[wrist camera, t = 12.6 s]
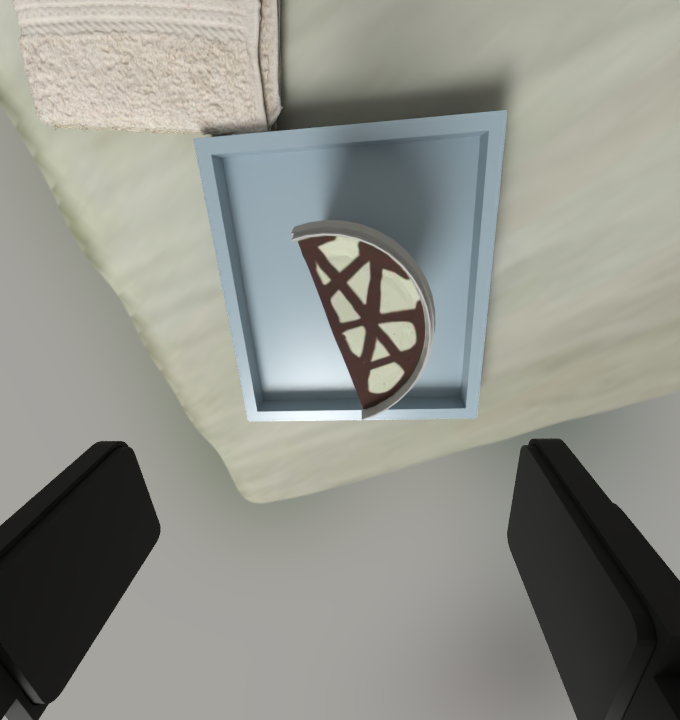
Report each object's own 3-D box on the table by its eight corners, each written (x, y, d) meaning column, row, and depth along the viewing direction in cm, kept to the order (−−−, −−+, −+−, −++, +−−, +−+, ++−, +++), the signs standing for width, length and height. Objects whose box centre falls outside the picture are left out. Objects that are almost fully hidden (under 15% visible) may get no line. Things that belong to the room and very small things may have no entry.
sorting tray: (492, 120, 25) (507, 109, 22) (468, 400, 33) (477, 418, 31) (211, 145, 27) (193, 138, 24) (257, 404, 35) (248, 421, 33)
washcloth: (289, 143, 27) (279, 136, 24) (57, 135, 28) (22, 128, 25) (286, -84, 22) (273, -126, 19) (6, -83, 23) (-46, -123, 20)
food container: (436, 341, 30) (464, 401, 21) (366, 362, 32) (364, 427, 22) (393, 188, 26) (405, 181, 17) (314, 220, 27) (286, 229, 18)
